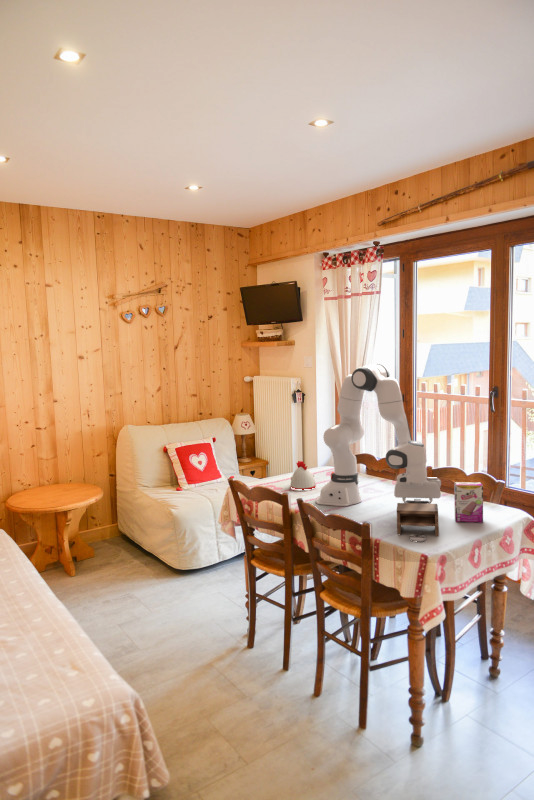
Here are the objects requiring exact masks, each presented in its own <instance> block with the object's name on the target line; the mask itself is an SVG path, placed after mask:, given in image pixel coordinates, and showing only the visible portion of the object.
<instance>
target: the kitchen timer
mask: <svg viewBox="0 0 534 800" xmlns="http://www.w3.org/2000/svg"><path fill="white" fill-rule="evenodd" d="M296 466H297V468H296V469H295V471H294V472H293V474H292V476H291V477H290V485H289V486H290V488H291V487H292V488H295V489H302V490H304V489H312V488H315V487H317V485H316V481H315V474H313V473H312V472H311V471H310V469H308V466H306V463H304V461H303V460H301V461H300V460H298V461H297V462H296ZM315 489H316V488H315Z"/></svg>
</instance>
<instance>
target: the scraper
mask: <svg viewBox="0 0 534 800" xmlns="http://www.w3.org/2000/svg"><path fill="white" fill-rule="evenodd" d="M405 501H406V502H408V503H420V504H427V503H429V501H430V500H422V498H413V500H409V499H408V500H407V499H406V500H405Z"/></svg>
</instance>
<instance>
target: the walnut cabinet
mask: <svg viewBox="0 0 534 800" xmlns="http://www.w3.org/2000/svg"><path fill="white" fill-rule="evenodd" d="M402 526H409V527H413V526H415V527H434V532H435V537H439V536H440V531H439V530H440V529H439V508H438V503H431V504H420V503H404V502H397V505H396V528H397V530H396V532H397V534H401V532H402Z"/></svg>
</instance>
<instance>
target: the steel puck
mask: <svg viewBox="0 0 534 800" xmlns="http://www.w3.org/2000/svg"><path fill="white" fill-rule="evenodd" d="M410 539H411V540H412V541H411V540H410ZM409 540H410V541H411V542H413V541H417V542H416V543H423V542H424V543H425V542H426V541H427V537H426V535H424V534H421V533H412V534H410V535H409Z"/></svg>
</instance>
